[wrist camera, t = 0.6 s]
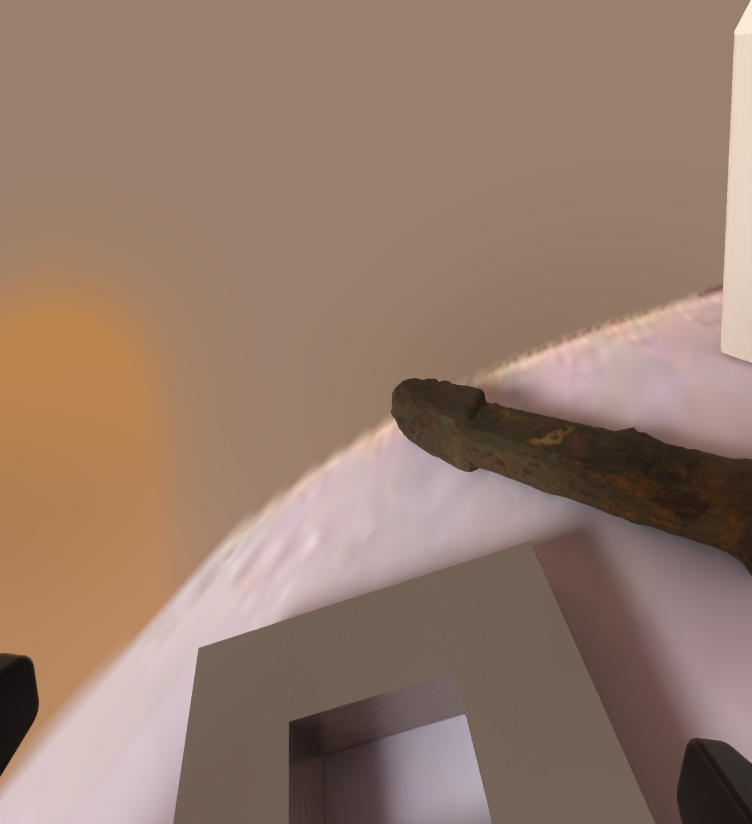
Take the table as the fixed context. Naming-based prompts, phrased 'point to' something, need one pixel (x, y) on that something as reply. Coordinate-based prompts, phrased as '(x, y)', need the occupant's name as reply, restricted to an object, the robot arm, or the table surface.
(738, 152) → the milk carton
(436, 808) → the table surface
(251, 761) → the grey square hole board
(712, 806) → the robot arm
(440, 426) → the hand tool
